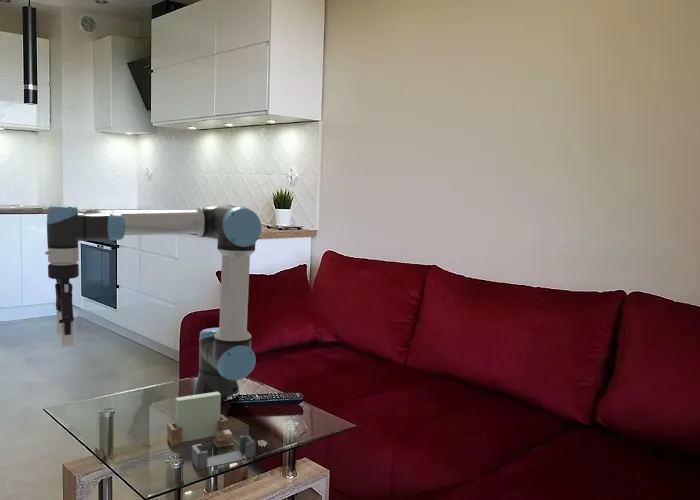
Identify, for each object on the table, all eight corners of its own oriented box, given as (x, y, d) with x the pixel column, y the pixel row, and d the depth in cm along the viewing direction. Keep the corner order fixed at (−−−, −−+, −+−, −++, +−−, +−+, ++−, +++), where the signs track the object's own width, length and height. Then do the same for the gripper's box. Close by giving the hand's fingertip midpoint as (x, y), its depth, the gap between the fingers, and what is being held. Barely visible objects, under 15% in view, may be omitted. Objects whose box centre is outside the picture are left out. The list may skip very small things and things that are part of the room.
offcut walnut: (227, 439, 169) (227, 434, 169) (231, 443, 167) (231, 438, 167) (213, 442, 167) (213, 437, 167) (218, 446, 164) (218, 441, 164)
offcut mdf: (228, 434, 169) (228, 429, 169) (232, 438, 167) (232, 433, 166) (215, 437, 167) (215, 431, 167) (218, 441, 165) (218, 435, 164)
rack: (222, 431, 177) (222, 414, 176) (227, 438, 172) (228, 420, 172) (167, 441, 169) (167, 423, 168) (171, 449, 164) (171, 430, 164)
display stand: (248, 452, 164) (248, 434, 163) (255, 460, 160) (255, 442, 159) (191, 464, 156) (191, 445, 156) (197, 472, 152) (197, 453, 151)
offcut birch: (228, 444, 170) (229, 439, 169) (232, 449, 167) (232, 443, 167) (213, 447, 167) (213, 442, 167) (217, 452, 165) (217, 446, 164)
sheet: (217, 431, 174) (217, 391, 173) (220, 435, 172) (220, 394, 171) (175, 439, 168) (175, 397, 167) (177, 443, 166) (177, 400, 165)
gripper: (44, 257, 173) (46, 330, 175) (51, 270, 151) (53, 353, 154) (73, 256, 176) (74, 328, 179) (84, 269, 155) (85, 350, 158)
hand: (64, 339), depth 166 cm, fingers open, 13 cm apart
